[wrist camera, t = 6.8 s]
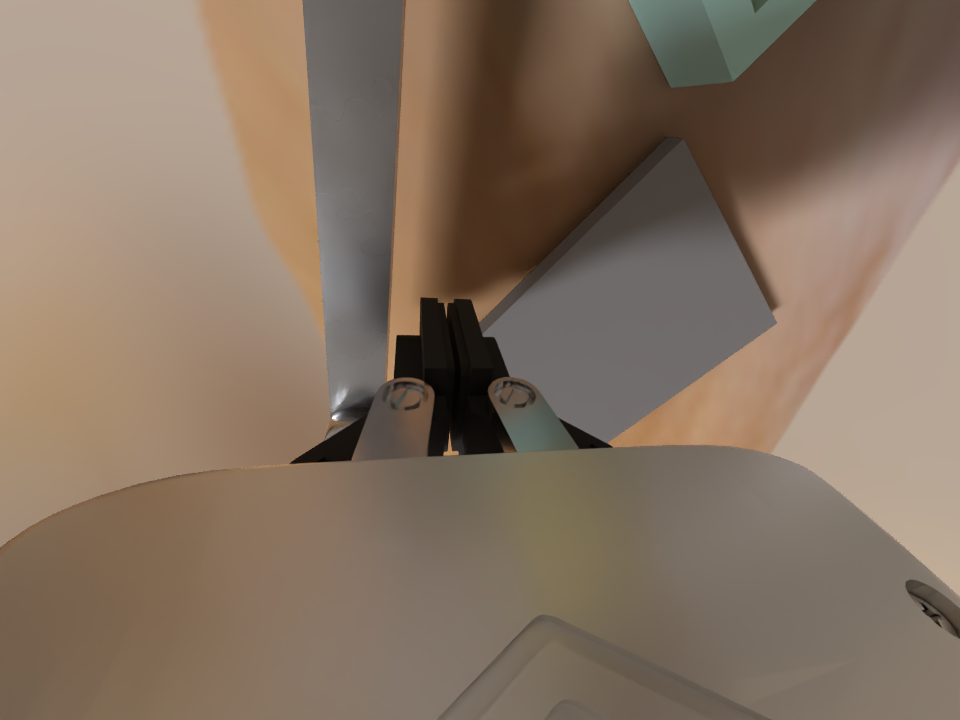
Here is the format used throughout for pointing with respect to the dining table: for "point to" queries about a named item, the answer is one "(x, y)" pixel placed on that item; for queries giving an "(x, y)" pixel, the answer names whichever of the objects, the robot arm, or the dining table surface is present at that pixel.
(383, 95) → the bar
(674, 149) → the pad
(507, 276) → the dining table surface
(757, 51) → the teal square frame
